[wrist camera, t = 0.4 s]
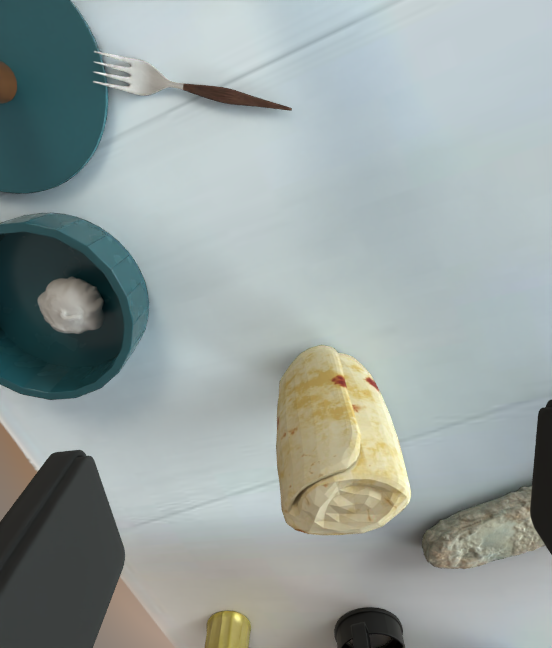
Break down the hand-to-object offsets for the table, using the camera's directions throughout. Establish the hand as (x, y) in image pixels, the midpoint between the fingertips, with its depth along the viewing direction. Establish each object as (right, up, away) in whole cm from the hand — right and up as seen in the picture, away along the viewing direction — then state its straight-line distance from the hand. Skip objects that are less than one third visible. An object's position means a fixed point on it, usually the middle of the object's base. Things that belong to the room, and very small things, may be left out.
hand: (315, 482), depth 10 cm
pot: (-22, +6, +36) cm, 42 cm away
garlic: (-20, +6, +35) cm, 41 cm away
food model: (+4, -1, +38) cm, 39 cm away
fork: (-7, +23, +29) cm, 37 cm away
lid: (-23, +23, +28) cm, 43 cm away
